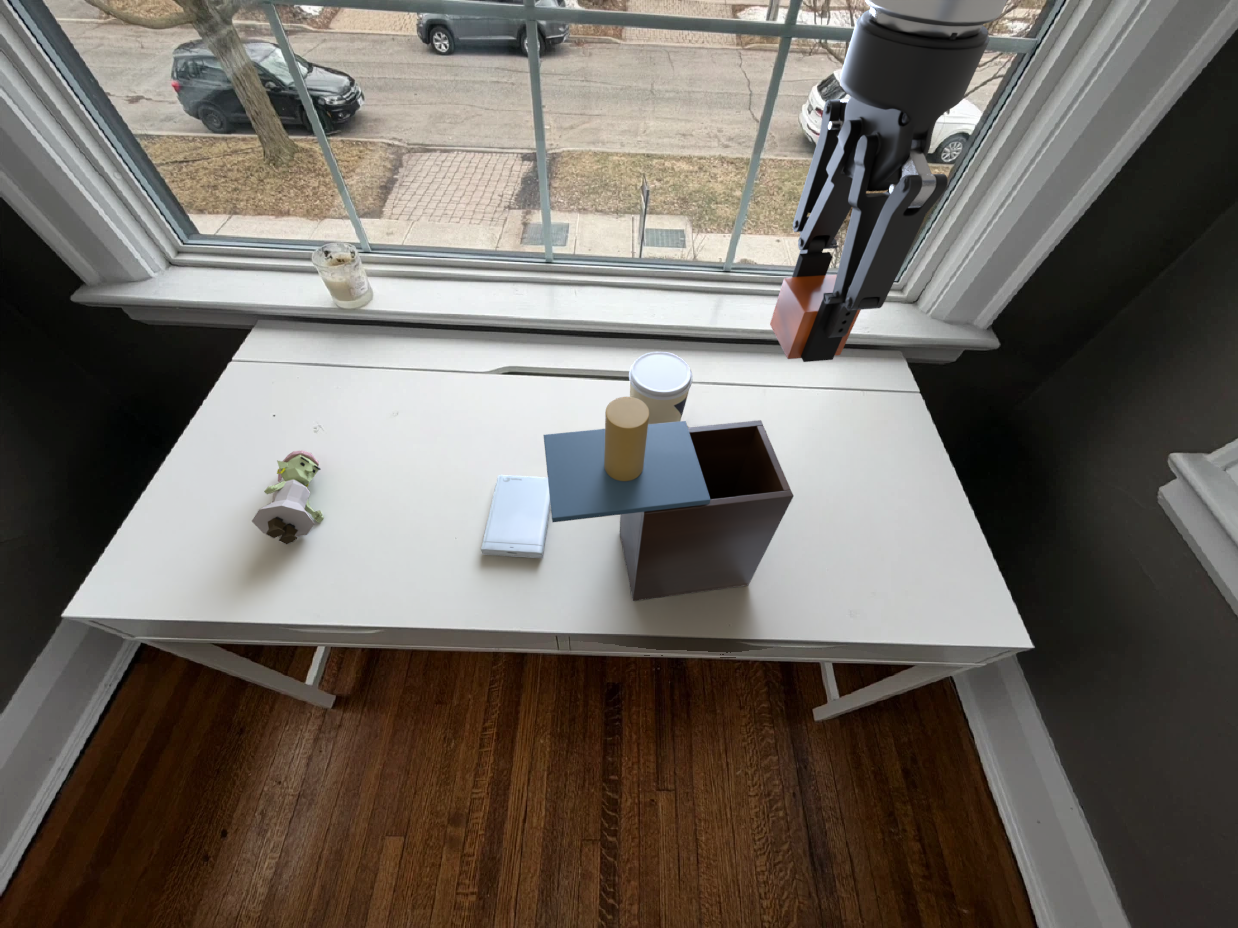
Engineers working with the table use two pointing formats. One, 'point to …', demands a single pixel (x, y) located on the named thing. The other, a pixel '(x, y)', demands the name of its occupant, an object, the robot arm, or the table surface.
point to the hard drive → (518, 517)
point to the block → (801, 312)
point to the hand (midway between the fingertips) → (805, 337)
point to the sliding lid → (623, 466)
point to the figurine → (290, 500)
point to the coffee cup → (661, 385)
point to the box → (711, 518)
